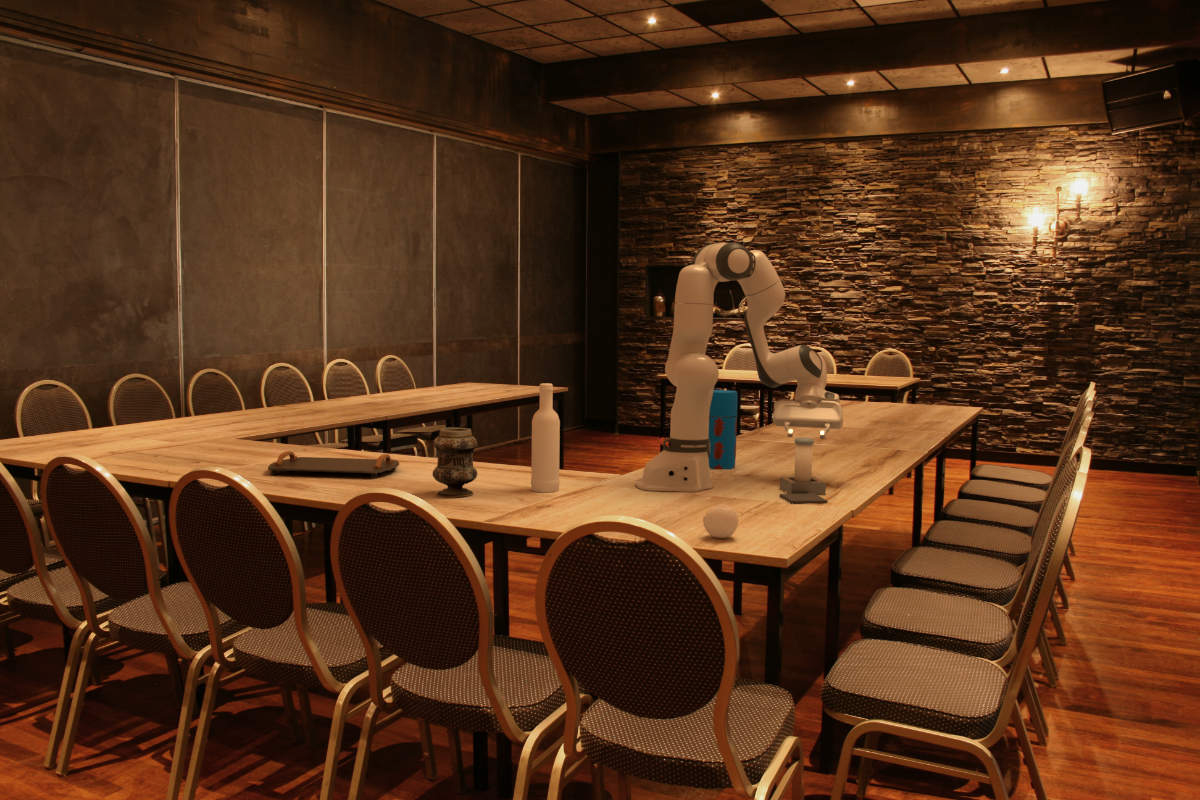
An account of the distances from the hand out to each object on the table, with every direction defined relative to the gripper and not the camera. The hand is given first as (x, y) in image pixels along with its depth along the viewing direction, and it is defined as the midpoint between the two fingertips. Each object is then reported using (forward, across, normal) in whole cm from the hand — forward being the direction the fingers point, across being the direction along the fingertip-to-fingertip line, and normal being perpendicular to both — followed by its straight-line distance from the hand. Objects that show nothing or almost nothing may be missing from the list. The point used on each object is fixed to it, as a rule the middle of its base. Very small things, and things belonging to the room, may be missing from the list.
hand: (806, 436), depth 284 cm
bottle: (+33, -69, -12) cm, 78 cm away
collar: (+16, 0, +5) cm, 17 cm away
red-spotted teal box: (-8, -30, +30) cm, 43 cm away
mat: (+25, +1, -4) cm, 25 cm away
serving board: (+29, -140, -7) cm, 143 cm away
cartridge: (+16, 0, +5) cm, 17 cm away
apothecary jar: (+44, -90, -22) cm, 103 cm away
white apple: (+62, -13, -41) cm, 75 cm away
